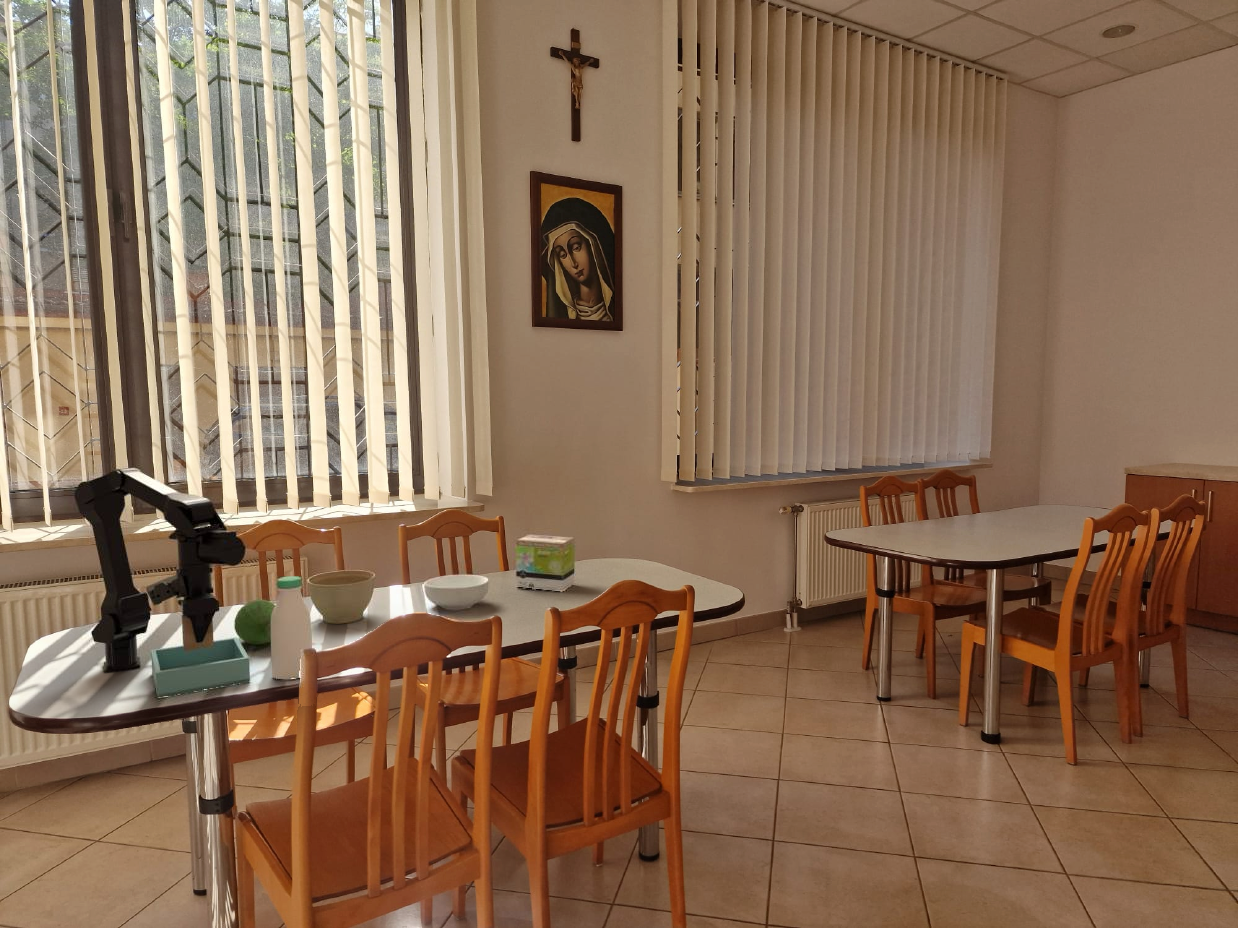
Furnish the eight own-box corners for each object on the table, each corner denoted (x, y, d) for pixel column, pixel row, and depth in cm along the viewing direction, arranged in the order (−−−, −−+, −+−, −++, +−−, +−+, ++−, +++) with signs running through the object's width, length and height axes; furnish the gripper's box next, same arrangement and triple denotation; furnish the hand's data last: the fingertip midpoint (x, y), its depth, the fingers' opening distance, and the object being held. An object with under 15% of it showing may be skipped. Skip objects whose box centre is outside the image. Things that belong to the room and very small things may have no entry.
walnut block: (182, 644, 162) (181, 614, 162) (210, 639, 165) (209, 611, 164) (185, 650, 158) (183, 620, 158) (213, 646, 161) (212, 617, 160)
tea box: (515, 589, 236) (514, 539, 234) (528, 581, 245) (528, 533, 244) (563, 593, 231) (563, 542, 230) (575, 585, 241) (575, 536, 239)
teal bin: (152, 673, 164) (150, 650, 164) (238, 659, 173) (237, 637, 173) (157, 698, 151) (155, 672, 151) (250, 682, 160) (249, 657, 159)
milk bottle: (320, 674, 164) (316, 577, 163) (283, 684, 159) (279, 584, 157) (301, 665, 170) (298, 572, 168) (265, 675, 164) (261, 578, 162)
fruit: (291, 649, 181) (290, 605, 180) (243, 657, 175) (241, 612, 174) (276, 632, 193) (275, 591, 192) (231, 639, 187) (229, 597, 186)
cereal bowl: (495, 599, 224) (495, 574, 224) (479, 615, 208) (479, 588, 207) (436, 597, 226) (435, 572, 225) (415, 613, 209) (415, 587, 209)
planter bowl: (305, 615, 208) (303, 573, 207) (369, 607, 215) (368, 567, 214) (312, 631, 194) (311, 587, 193) (381, 622, 201) (380, 580, 200)
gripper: (145, 558, 163) (149, 633, 165) (150, 576, 148) (154, 658, 149) (206, 552, 169) (209, 625, 171) (218, 568, 154) (221, 648, 155)
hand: (198, 638), depth 161 cm, fingers closed on walnut block, 5 cm apart
